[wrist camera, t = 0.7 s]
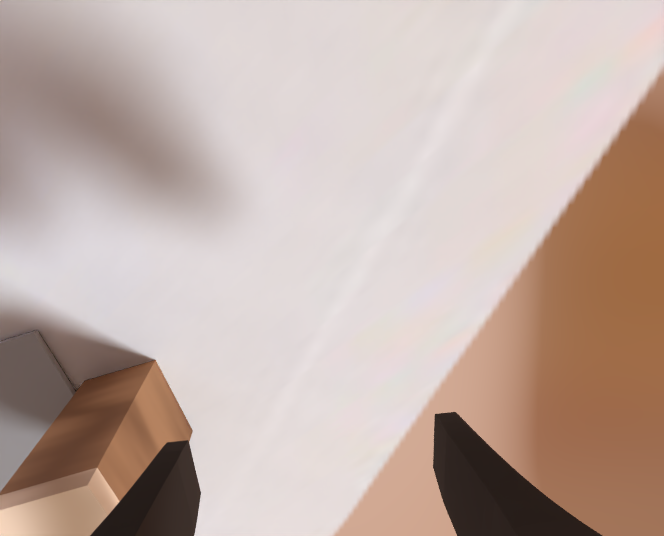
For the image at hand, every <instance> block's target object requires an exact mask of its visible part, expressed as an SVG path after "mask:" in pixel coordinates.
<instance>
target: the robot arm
mask: <svg viewBox="0 0 664 536" xmlns="http://www.w3.org/2000/svg"><path fill="white" fill-rule="evenodd" d="M433 461H434V462H433V468H434V471H435V475H436V479H437V482H438V485H439V489H440V492H441V496H442V499H443V502H444V504H445V507H446V510H447V512H448V514H449V517H450V519H451V522H452V524H453V527H454V529H455V531H456V534H457V536H602V535H600V534H599V533H597V532H596V531H594V530H593V529H591V528H590V527H588V526H587V525H585V524H583V523H582V522H581V521H579V520H578V519H576V518H575V517H574V516H572V515H571V514H569V513H568V512H567V511H565V510H564V509H563V508H561V507H560V506H558V505H557V504H556V503H554V502H553V501H552V500H551V499H549V498H548V497H546V495H544V494H543V493H542V492H540V491H539V490H538V489H537V488H536V487H534V486H533V485H532V484H531V483H530V482H529V481H527V480H526V479H525V478H524V477H523V476H521V475H520V474H519V473H518V472H517V471H516V470H515V469H514V468H512V467H511V466H510V465H509V464H508V463H507V462H506V461H505V460H504V459H503V458H501V456H499V455H498V454H497V453H496V452H495V451H494V450H493V449H492V448H491V447H490V446H489V445H488V444H487V443H486V442H485V441H484V440H483V439H482V438H481V437H480V436H479V435H478V434H477V433H476V432H475V431H474V430H473V429H472V428H471V427H470V426H469V425H468V424H467V423H466V422H465V421H464V420H463V419H462V418H461V417H460V416H459V415H458V414H457V413H456V412H451V413H441V414H435V427H434V460H433ZM200 495H201V492H200V488H199V483H198V479H197V475H196V471H195V466H194V462H193V458H192V454H191V449H190V445H189V441H188V440H185V441H176V442H167V443H166V444H165V445H164V446H163V448H162V449H161V450H160V451H159V453H158V454H157V455H156V456H155V458H154V459H153V460H152V462H151V463H150V464H149V465H148V467H147V468H146V469H145V471H144V472H143V473H142V474H141V476H140V477H139V478H138V479H137V481H136V482H135V483H134V485H133V486H132V487H131V488H130V489H129V491H128V492H127V493H126V494H125V496H124V497H123V498H122V499H121V500H120V502H119V503H118V504H117V505H116V506H115V508H114V509H113V510H112V511H111V512H110V514H109V515H108V516H107V517H106V518H105V519H104V520H103V521H102V523H101V524H100V525H99V526H98V527H97V528H96V529H95V530H94V532H93V533H92V534H91V535H90V536H194V533H195V528H196V522H197V516H198V509H199V502H200Z"/></svg>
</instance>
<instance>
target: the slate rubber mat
mask: <svg viewBox="0 0 664 536" xmlns="http://www.w3.org/2000/svg"><path fill="white" fill-rule="evenodd" d="M75 393H76V391H75V389H74V388H73V386H72V385H71V383H70V381H69V380H68V378H67V377H66V375H65V373H64V372H63V370H62V369H61V367H60V366H59V364H58V362H57V361H56V359H55V358H54V356H53V354H52V353H51V351H50V350H49V348H48V347H47V345H46V343H45V342H44V340H43V339H42V337H41V335H40V334H39V332H38V331H37V330H36V331H33V332H29V333H26V334H23V335H19V336H16V337H13V338H9V339H6V340H2V341H0V492H1V491H2V489H3V488H4V487H5V485H6V484H7V483H8V481H9V480H10V479H11V477H12V476H13V475H14V473H15V472H16V471H17V469H18V468H19V467H20V465H21V464H22V463H23V462H24V460H25V459H26V458H27V456H28V455H29V454H30V452H31V451H32V450H33V448H34V447H35V446H36V444H37V443H38V442H39V440H40V439H41V438H42V436H43V435H44V434H45V432H46V431H47V430H48V428H49V427H50V426H51V425H52V423H53V422H54V421H55V419H56V418H57V417H58V415H59V414H60V413H61V411H62V410H63V409H64V407H65V406H66V405H67V403H68V402H69V401H70V399H71V398H72V397H73V395H74V394H75Z"/></svg>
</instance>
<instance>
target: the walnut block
mask: <svg viewBox="0 0 664 536" xmlns="http://www.w3.org/2000/svg"><path fill="white" fill-rule="evenodd" d="M192 431H193V430H192V428H191V427H190V425H189V423H188V421H187V419H186V417H185V415H184V413H183V411H182V409H181V408H180V406H179V404H178V402H177V400H176V398H175V396H174V394H173V392H172V390H171V389H170V387H169V385H168V383H167V381H166V379H165V377H164V375H163V373H162V371H161V369H160V368H159V366H158V364H157V362H156V360H154V361H151V362H147V363H144V364H140V365H137V366H134V367H130V368H127V369H123V370H120V371H116V372H113V373H110V374H106V375H103V376H99V377H96V378H93V379H89V380H86V381H84V382H83V384H82V385H81V386H80V388H79V389H78V390H77V392H76V393H75V394H74V395H73V397H72V398H71V399H70V401H69V402H68V403H67V405H66V406H65V407H64V409H63V410H62V411H61V413H60V414H59V415H58V417H57V418H56V419H55V421H54V422H53V423H52V425H51V426H50V427H49V428H48V430H47V431H46V432H45V434H44V435H43V436H42V438H41V439H40V440H39V442H38V443H37V444H36V446H35V447H34V448H33V450H32V451H31V452H30V454H29V455H28V456H27V458H26V459H25V460H24V462H23V463H22V464H21V465H20V467H19V468H18V469H17V471H16V472H15V473H14V475H13V476H12V477H11V479H10V480H9V481H8V483H7V484H6V485H5V487H4V488H3V489H2V491H1V492H0V536H90V535H91V534H92V533H93V532H94V530H95V529H96V528H97V527H98V526H99V525H100V524H101V523H102V521H103V520H104V519H105V518H106V517H107V516H108V515H109V514H110V512H111V511H112V510H113V509H114V508H115V506H116V505H117V504H118V503H119V502H120V500H121V499H122V498H123V497H124V496H125V494H126V493H127V492H128V491H129V489H130V488H131V487H132V486H133V485H134V483H135V482H136V481H137V479H138V478H139V477H140V476H141V474H142V473H143V472H144V471H145V469H146V468H147V467H148V465H149V464H150V463H151V462H152V460H153V459H154V458H155V456H156V455H157V454H158V453H159V451H160V450H161V449H162V448H163V446H164V445H165V444H166V443H167V442H176V441H185V440H188V441H190V438H191V434H192Z"/></svg>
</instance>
